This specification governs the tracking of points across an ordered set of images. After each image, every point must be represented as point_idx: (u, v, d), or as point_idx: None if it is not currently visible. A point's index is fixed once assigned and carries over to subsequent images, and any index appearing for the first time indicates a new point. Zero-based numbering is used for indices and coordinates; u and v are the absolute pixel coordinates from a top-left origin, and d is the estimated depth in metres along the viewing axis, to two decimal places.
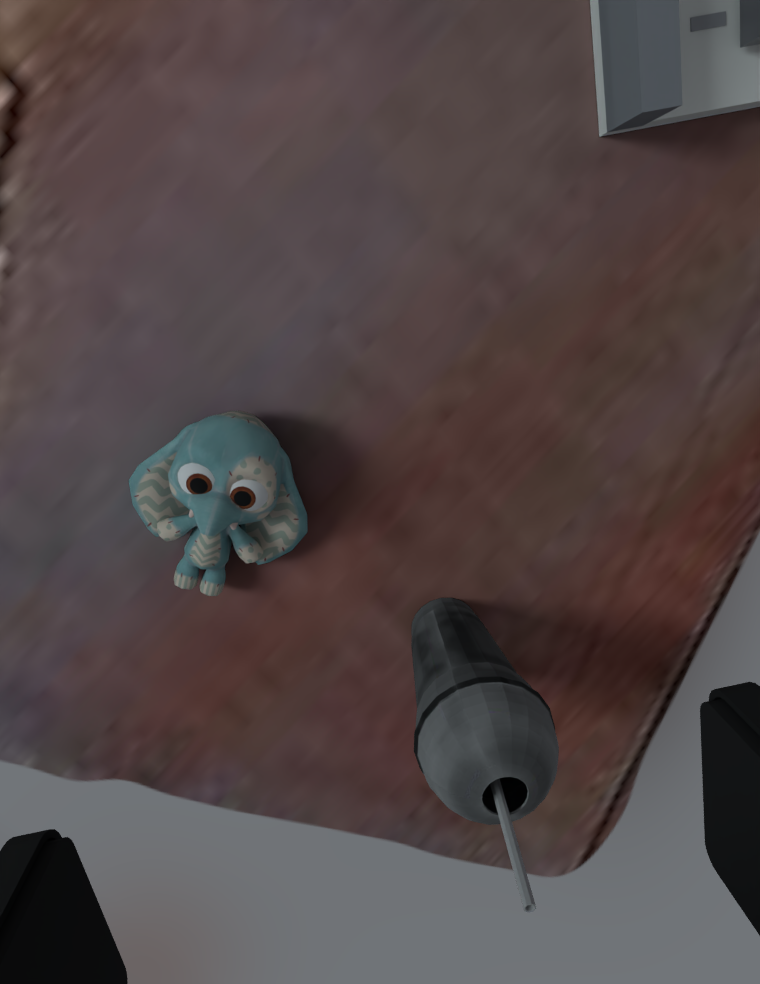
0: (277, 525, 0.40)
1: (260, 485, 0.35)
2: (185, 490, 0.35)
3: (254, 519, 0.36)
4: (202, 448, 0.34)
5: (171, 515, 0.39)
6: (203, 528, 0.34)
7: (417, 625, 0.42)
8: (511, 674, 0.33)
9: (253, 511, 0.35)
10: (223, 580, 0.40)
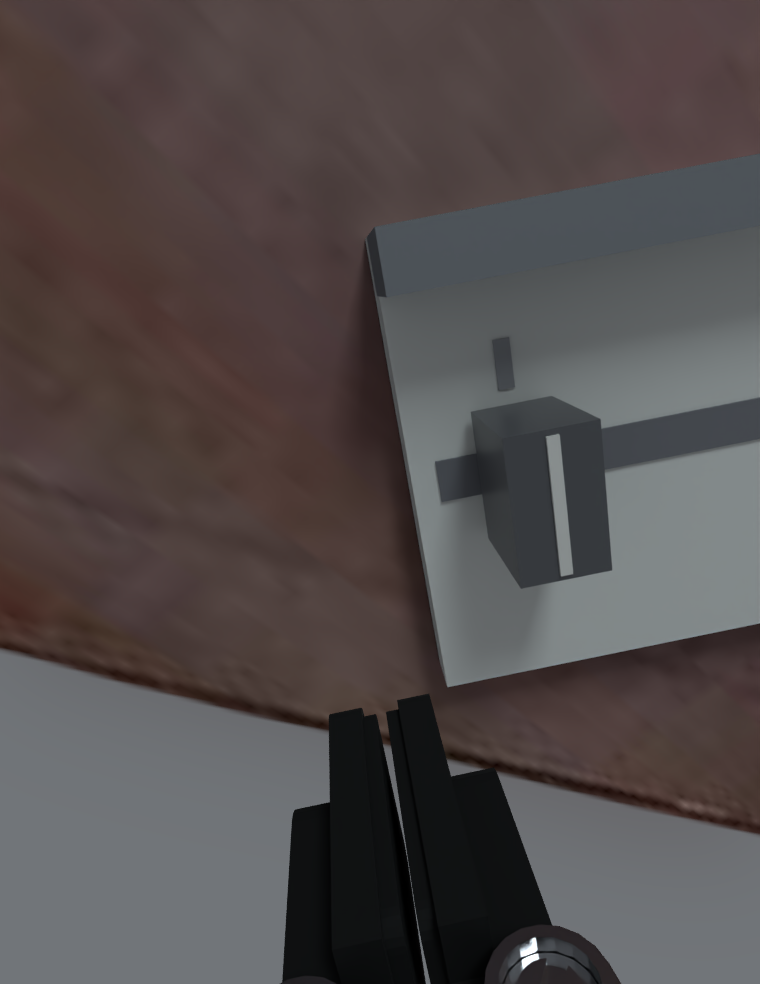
0: None
1: None
2: None
3: None
4: None
5: None
6: None
7: None
8: None
9: None
10: None
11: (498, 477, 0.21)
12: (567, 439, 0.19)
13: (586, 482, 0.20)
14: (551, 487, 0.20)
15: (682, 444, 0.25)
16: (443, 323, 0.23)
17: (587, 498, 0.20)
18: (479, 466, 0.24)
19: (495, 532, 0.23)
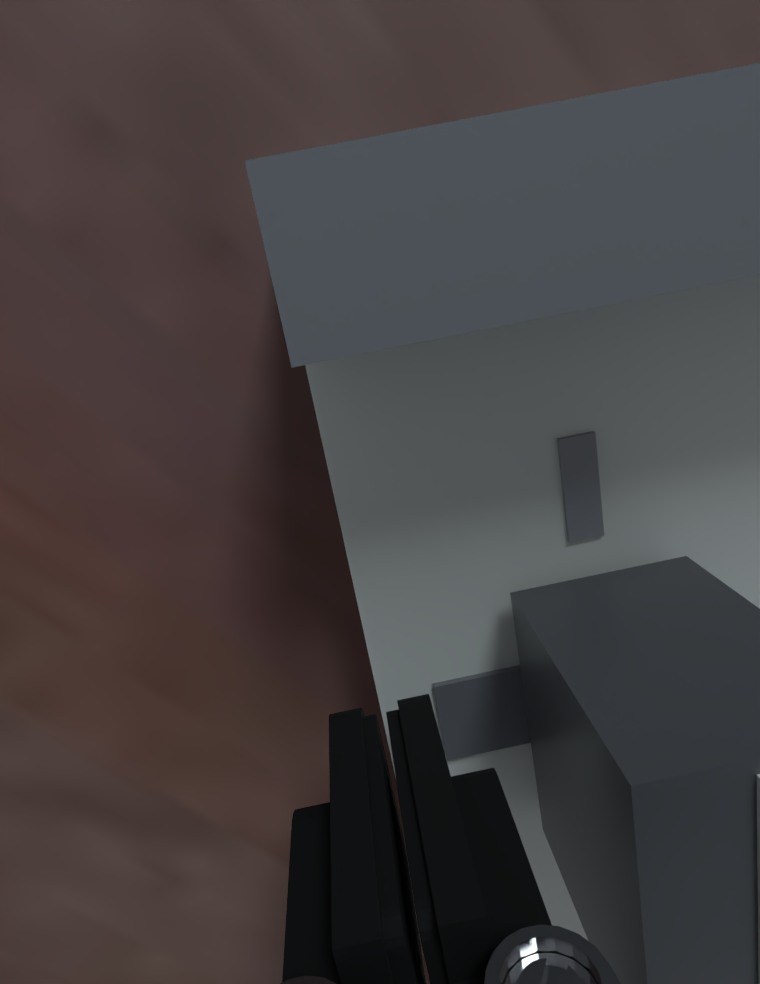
0: None
1: None
2: None
3: None
4: None
5: None
6: None
7: None
8: None
9: None
10: None
11: (596, 817, 0.08)
12: None
13: None
14: (759, 892, 0.07)
15: None
16: (449, 404, 0.10)
17: None
18: (528, 705, 0.11)
19: (567, 862, 0.10)
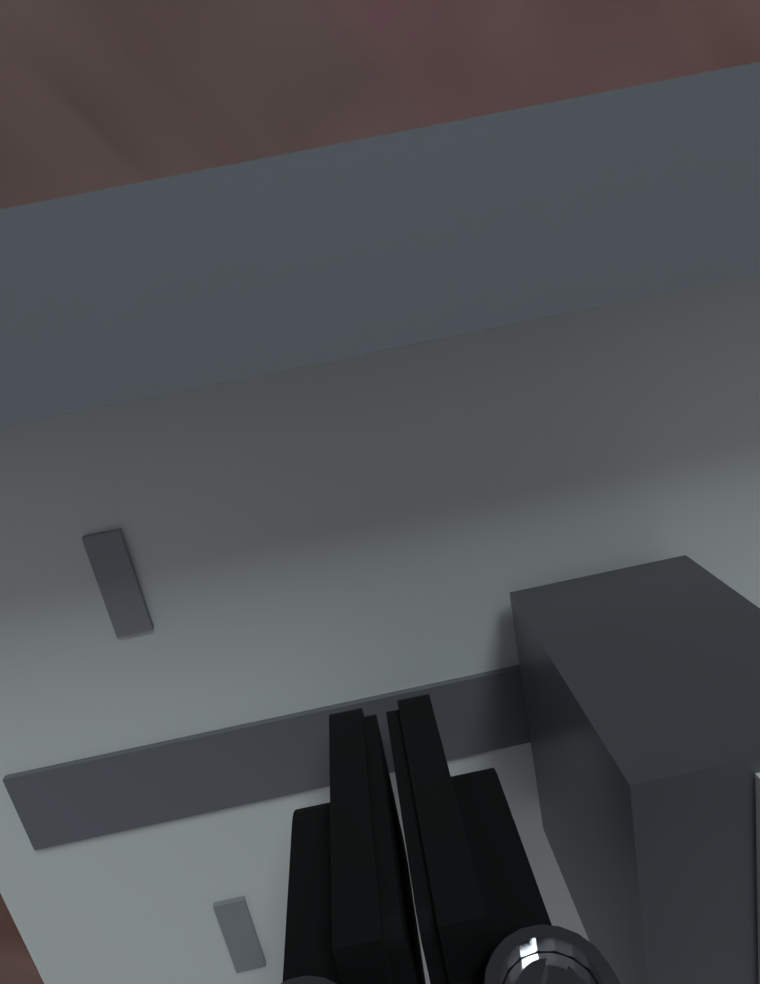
0: None
1: None
2: None
3: None
4: None
5: None
6: None
7: None
8: None
9: None
10: None
11: (596, 816, 0.08)
12: None
13: None
14: (757, 891, 0.07)
15: None
16: None
17: None
18: (528, 704, 0.11)
19: (567, 861, 0.10)
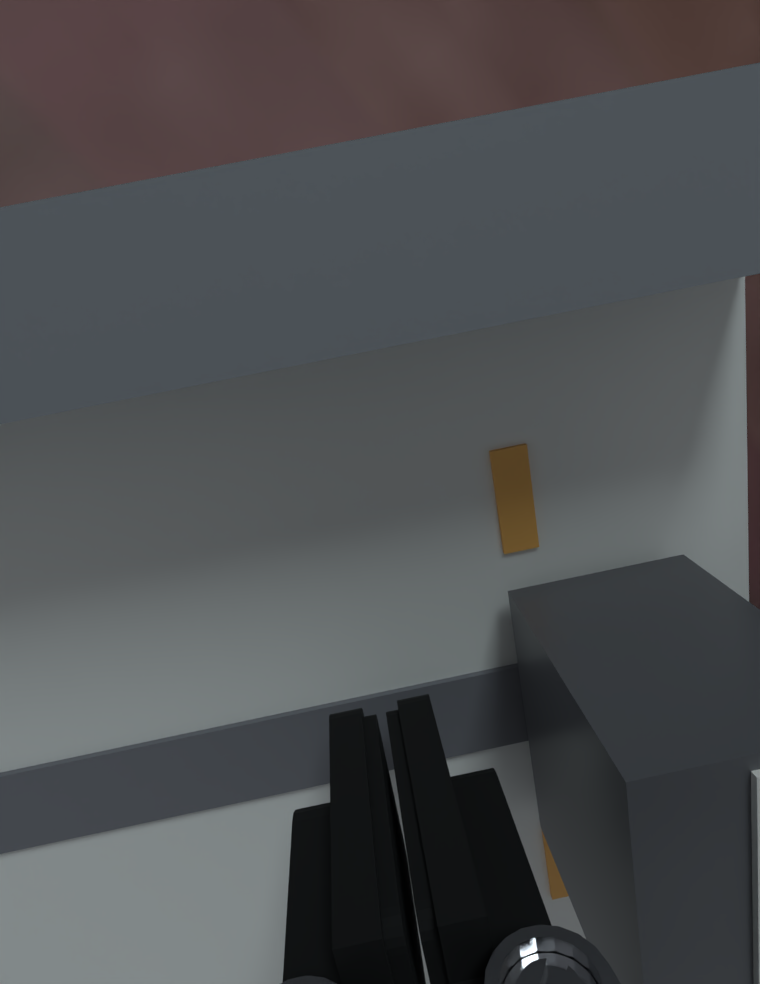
0: None
1: None
2: None
3: None
4: None
5: None
6: None
7: None
8: None
9: None
10: None
11: (592, 814, 0.08)
12: None
13: None
14: (753, 888, 0.07)
15: (245, 783, 0.12)
16: None
17: None
18: (526, 703, 0.11)
19: (564, 859, 0.11)
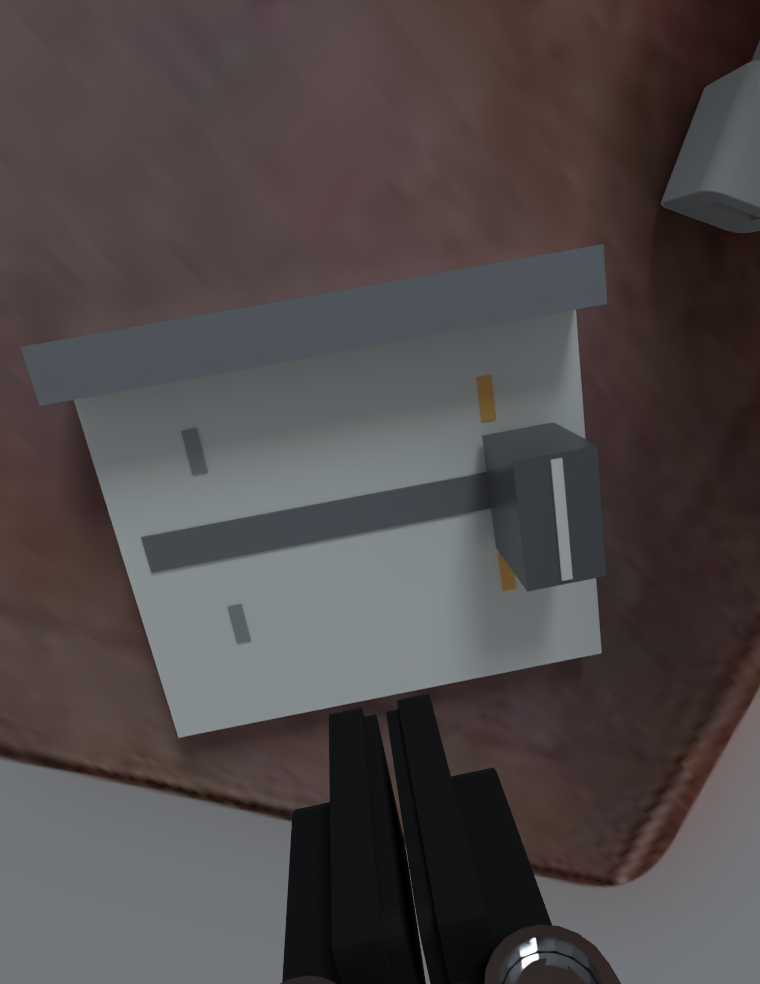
0: None
1: None
2: None
3: None
4: None
5: None
6: None
7: None
8: None
9: None
10: None
11: (508, 494, 0.24)
12: (568, 461, 0.22)
13: (584, 499, 0.23)
14: (554, 503, 0.23)
15: (370, 522, 0.27)
16: (134, 417, 0.25)
17: (585, 513, 0.23)
18: (489, 483, 0.27)
19: (503, 542, 0.26)
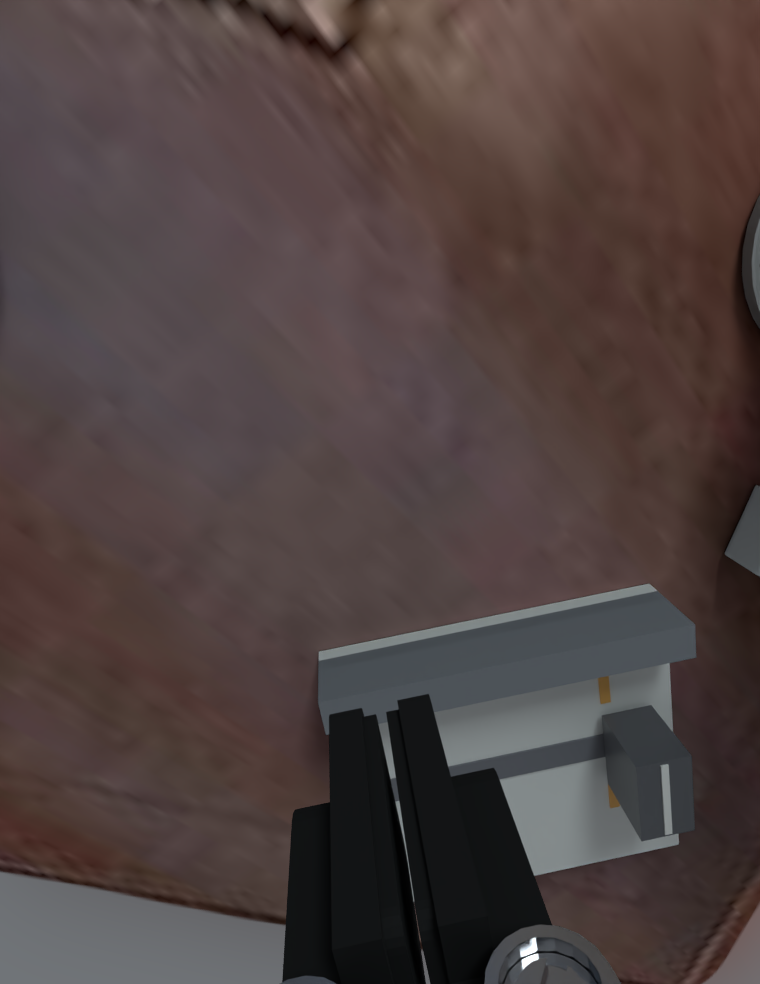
0: None
1: None
2: None
3: None
4: None
5: None
6: None
7: None
8: None
9: None
10: None
11: (627, 775, 0.36)
12: (672, 766, 0.34)
13: (682, 786, 0.35)
14: (662, 789, 0.34)
15: (520, 769, 0.39)
16: None
17: (682, 794, 0.35)
18: (606, 746, 0.38)
19: (617, 790, 0.38)
